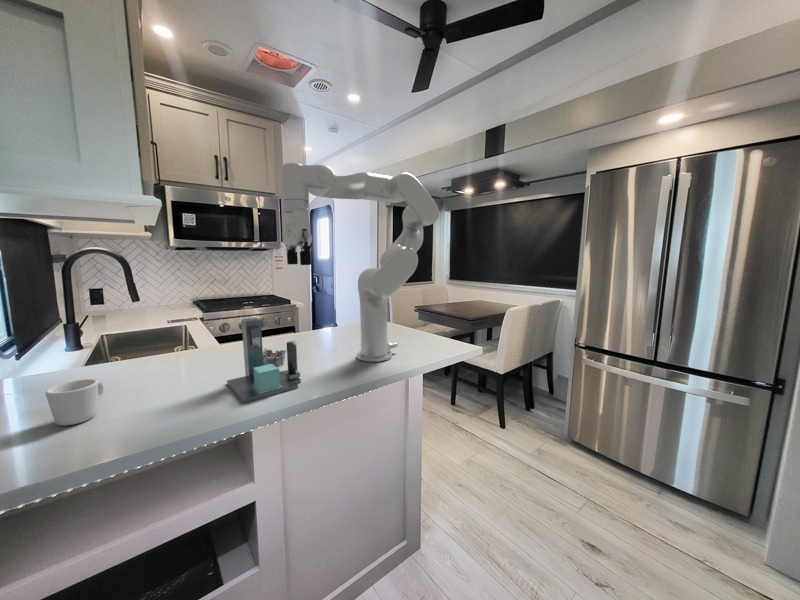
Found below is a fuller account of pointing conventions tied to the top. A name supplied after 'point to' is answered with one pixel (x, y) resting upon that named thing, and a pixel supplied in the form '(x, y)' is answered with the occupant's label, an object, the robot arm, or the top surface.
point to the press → (253, 359)
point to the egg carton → (273, 357)
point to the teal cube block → (266, 377)
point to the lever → (292, 360)
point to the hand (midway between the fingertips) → (299, 264)
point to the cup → (74, 401)
